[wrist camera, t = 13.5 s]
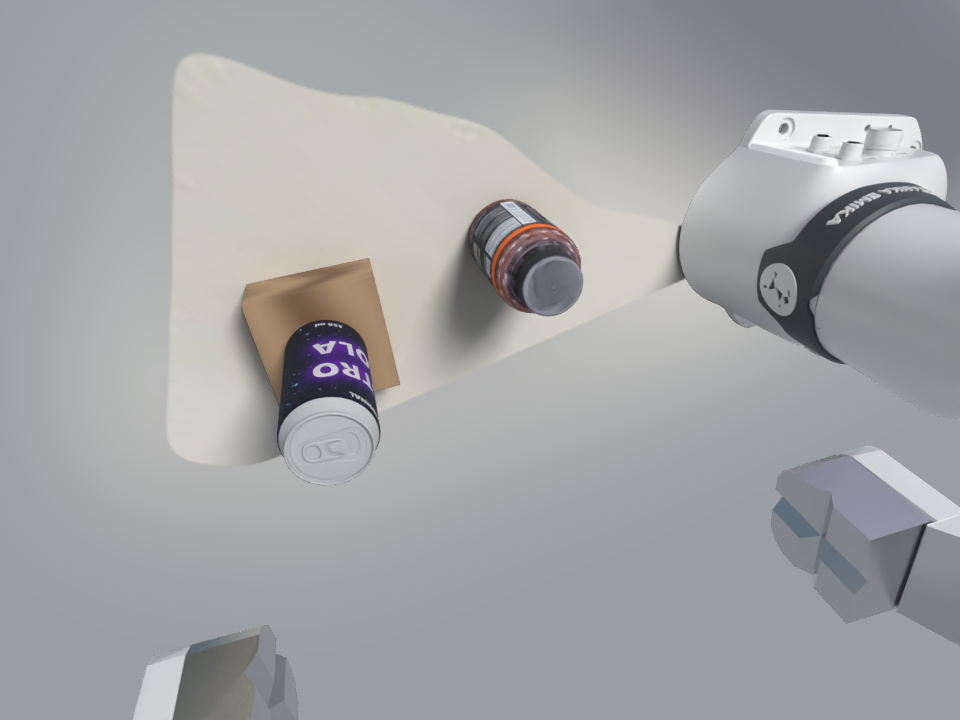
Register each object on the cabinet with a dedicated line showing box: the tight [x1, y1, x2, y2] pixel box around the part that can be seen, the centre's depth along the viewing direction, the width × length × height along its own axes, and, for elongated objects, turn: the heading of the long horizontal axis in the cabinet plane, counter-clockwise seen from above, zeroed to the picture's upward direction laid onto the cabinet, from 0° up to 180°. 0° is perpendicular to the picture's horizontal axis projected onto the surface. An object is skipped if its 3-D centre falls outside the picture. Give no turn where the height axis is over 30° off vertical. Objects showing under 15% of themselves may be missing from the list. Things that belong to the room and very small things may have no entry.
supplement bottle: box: [469, 199, 583, 316], centre depth 41 cm, size 6×6×11 cm
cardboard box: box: [241, 258, 400, 407], centre depth 44 cm, size 9×9×4 cm
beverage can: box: [277, 320, 380, 485], centre depth 37 cm, size 6×6×12 cm
